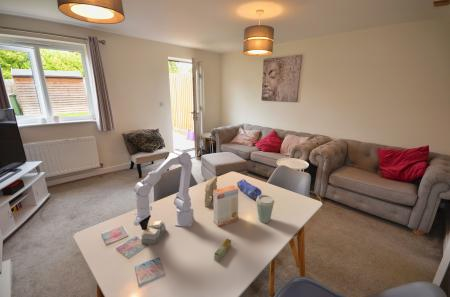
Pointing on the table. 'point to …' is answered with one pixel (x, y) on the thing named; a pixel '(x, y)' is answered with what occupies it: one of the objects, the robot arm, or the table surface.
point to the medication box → (222, 250)
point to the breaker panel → (153, 238)
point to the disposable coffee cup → (264, 207)
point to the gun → (210, 190)
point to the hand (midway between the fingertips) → (144, 229)
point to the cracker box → (225, 205)
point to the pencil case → (249, 189)
